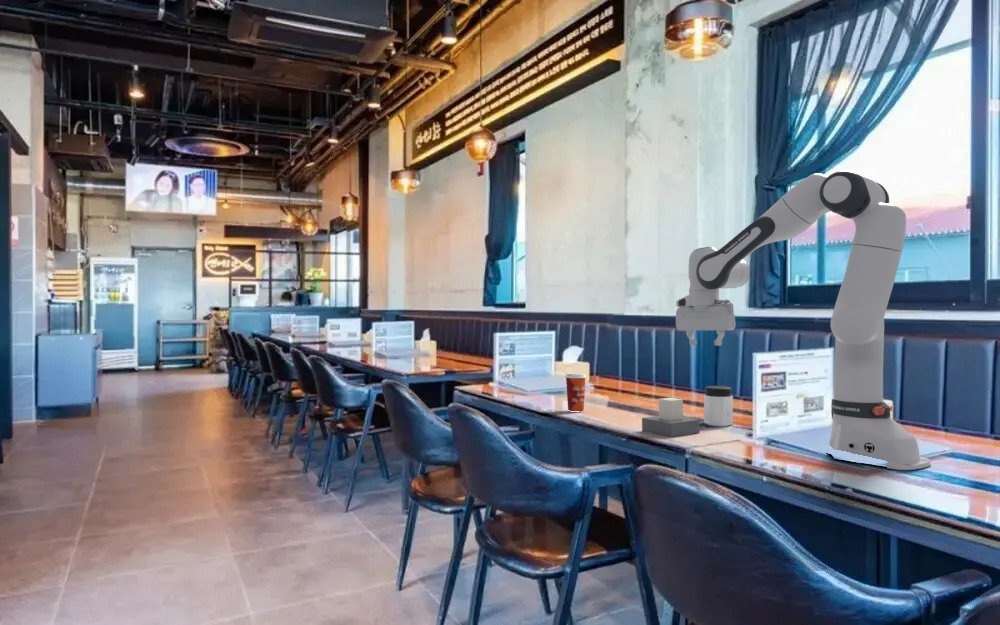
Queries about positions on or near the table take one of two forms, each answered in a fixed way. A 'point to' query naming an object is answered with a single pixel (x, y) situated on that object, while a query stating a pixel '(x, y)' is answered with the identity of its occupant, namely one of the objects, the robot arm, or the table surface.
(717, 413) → the jar
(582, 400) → the paper cup
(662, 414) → the block
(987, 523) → the table surface
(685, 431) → the block
